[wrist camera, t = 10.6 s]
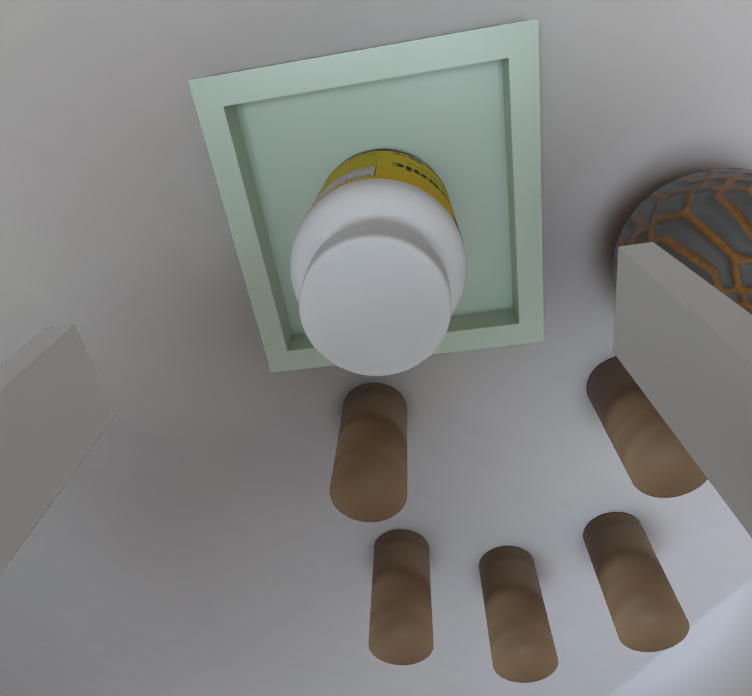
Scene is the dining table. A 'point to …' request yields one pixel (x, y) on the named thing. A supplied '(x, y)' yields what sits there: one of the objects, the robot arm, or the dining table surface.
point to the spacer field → (509, 564)
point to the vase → (701, 228)
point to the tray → (398, 131)
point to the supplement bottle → (378, 264)
